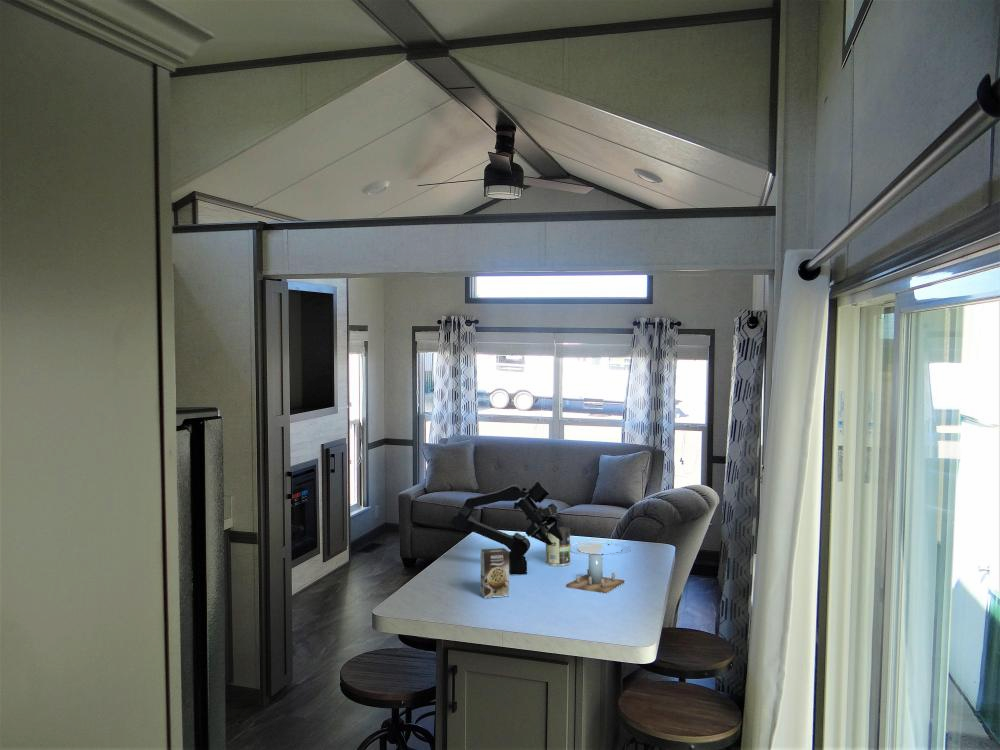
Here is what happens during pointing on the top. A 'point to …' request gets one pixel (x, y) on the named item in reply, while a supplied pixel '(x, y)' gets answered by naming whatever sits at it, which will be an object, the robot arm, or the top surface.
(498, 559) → the brown food box
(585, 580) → the dish rack
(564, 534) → the coffee can
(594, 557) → the grey dome-topped cylinder
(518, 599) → the top surface
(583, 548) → the plate
